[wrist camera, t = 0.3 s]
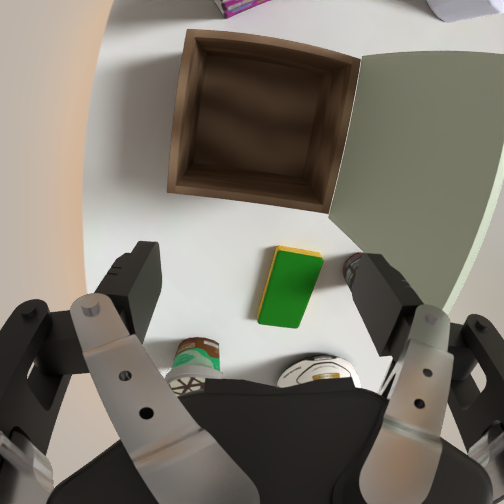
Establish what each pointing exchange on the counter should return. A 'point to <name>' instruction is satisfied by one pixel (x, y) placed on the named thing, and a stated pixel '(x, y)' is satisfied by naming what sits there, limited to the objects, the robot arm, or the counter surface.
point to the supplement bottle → (351, 269)
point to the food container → (194, 365)
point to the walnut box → (260, 120)
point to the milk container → (317, 371)
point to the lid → (424, 164)
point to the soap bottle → (465, 9)
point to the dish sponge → (289, 286)
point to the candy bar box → (236, 6)
